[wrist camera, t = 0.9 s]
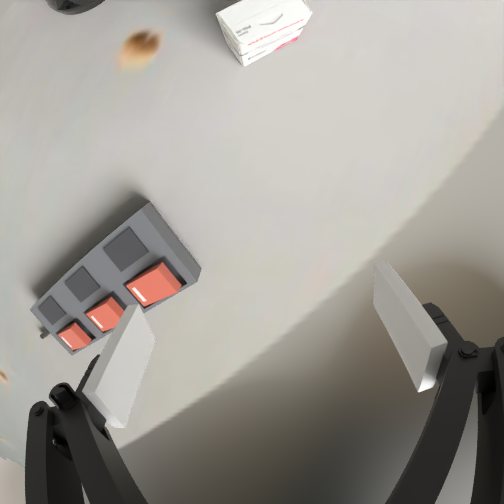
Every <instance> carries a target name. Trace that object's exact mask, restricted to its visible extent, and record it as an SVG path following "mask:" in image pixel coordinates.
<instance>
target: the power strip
mask: <svg viewBox="0 0 504 504" xmlns="http://www.w3.org/2000/svg"><path fill="white" fill-rule="evenodd" d="M161 262H163V263H164V265H165V266H166V267H167V268H168V269H169V271H170V272H171V273H172V274H173V275H174V277H175V278H176V279H177V280H178V281H179V283H180V284H181V285H182V286H181V287H180V289H179V290H178V292H177V293H179V292H181V291H182V290H184V289H186V288H187V287H189V286H191V285H192V284H194V283H196V282H197V281H198V278H199V275H200V272H201V267H200V266H199V265H198V263H197V262H196V261H195V260H194V258H193V257H192V256H191V255H190V253H189V252H188V251H187V249H186V248H185V247H184V246H183V244H182V243H181V242H180V240H179V239H178V238H177V237H176V235H175V234H174V233H173V231H172V230H171V229H170V227H169V226H168V225H167V223H166V222H165V221H164V219H163V218H162V217H161V215H160V214H159V213H158V211H157V210H156V209H155V207H154V206H153V205H152V203H151V202H148V203H147V204H146V205H144V206H143V207H142V208H141V209H139V210H138V211H137V212H136V213H134V214H133V215H132V216H131V217H129V218H128V219H127V220H126V221H124V222H123V223H122V224H121V225H120V226H118V227H117V228H116V229H115V230H114V231H112V232H111V233H110V234H109V235H108V236H107V237H105V238H104V239H103V240H102V241H101V242H100V243H98V244H97V245H96V246H95V247H94V248H93V249H92V250H90V251H89V252H88V253H87V254H86V255H85V256H84V257H83V258H82V259H80V260H79V261H78V262H77V263H76V264H75V265H74V266H73V267H72V268H71V269H70V270H69V271H67V272H66V273H65V274H64V275H63V276H62V277H61V278H60V279H59V280H58V281H57V282H56V283H55V284H54V285H53V286H52V287H51V288H50V289H49V290H48V291H47V292H46V293H45V294H44V295H43V296H42V297H41V298H40V299H39V300H38V301H37V302H36V303H35V304H34V305H33V306H32V308H31V309H30V310H31V312H32V313H33V314H34V315H35V316H36V318H37V319H38V320H39V321H40V322H41V323H42V324H43V326H44V327H45V328H46V329H47V330H45V331H44V332H43V333H42V334H41V335H40V337H41V338H42V339H44V338H45V337H46V336H48V335H49V334H50V333H51V334H52V335H53V336H54V338H55V339H56V340H57V341H58V342H59V343H60V344H61V345H62V346H63V347H64V348H65V349H66V350H67V351H68V352H69V353H70V354H71V355H74V354H75V353H77V352H79V351H80V350H82V349H84V348H85V347H87V346H89V345H91V344H92V343H94V342H96V341H97V340H99V339H101V338H102V337H104V336H106V335H107V334H109V333H111V332H113V331H114V329H115V327H114V328H111V329H109V330H106V331H103V332H102V331H101V330H100V329H99V328H98V327H97V325H96V324H95V323H94V322H93V321H92V320H91V319H90V318H89V317H88V316H87V315H86V313H87V312H88V311H89V310H90V308H92V307H94V306H96V305H97V304H99V303H101V302H103V301H105V300H106V299H108V298H110V297H112V298H113V299H114V300H115V301H116V302H117V303H118V305H119V306H120V307H121V308H122V309H123V310H124V311H125V309H126V308H127V306H128V305H134V304H139V305H140V308H141V310H142V312H143V313H145V312H147V311H148V310H150V309H152V308H153V307H155V306H157V305H158V304H160V303H162V302H164V301H165V300H167V299H169V298H170V297H172V296H174V295H175V294H177V293H175V294H172V295H170V296H168V297H165V298H163V299H161V300H158V301H156V302H154V303H151V304H149V305H147V306H143V305H142V304H141V302H140V301H139V300H138V299H137V298H136V297H135V296H134V295H133V293H132V292H131V291H130V290H129V289H128V288H127V287H126V285H127V284H128V283H129V281H130V280H131V279H133V278H135V277H136V276H138V275H140V274H142V273H144V272H145V271H147V270H149V269H151V268H152V267H154V266H156V265H158V264H160V263H161ZM73 323H76V324H77V325H78V326H79V327H80V328H81V329H82V330H83V331H84V332H85V333H86V334H87V335H88V336H89V337H90V338H91V339H92V340H91V341H90V343H89V344H88V345H87V346H85V347H81V348H78V349H75V350H72V349H71V348H70V347H69V346H68V345H67V344H66V343H65V342H64V341H63V340H62V339H61V338H60V337H59V336H58V334H59V332H60V331H61V330H62V329H64V328H66V327H68V326H70V325H72V324H73Z"/></svg>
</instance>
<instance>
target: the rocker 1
mask: <svg viewBox="0 0 504 504" xmlns="http://www.w3.org/2000/svg"><path fill="white" fill-rule="evenodd" d="M58 336H59V337H60V338H61V339H62V340H63V341H64V342H65V343H66V344H67V345H68V346H69V347H70V348H71V349H72V350H75V349H78V348H81V347H85V346H87V345H88V344H89V343H90V341H91V340H92V339H91V338H90V337H89V336H88V335H87V334H86V333H85V332H84V331H83V330H82V329H81V328H80V327H79V326H78V325H77V324H76V323H73V324H72V325H70V326H68V327H66V328H64V329H62V330H61V331H60V332H59V334H58Z"/></svg>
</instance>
